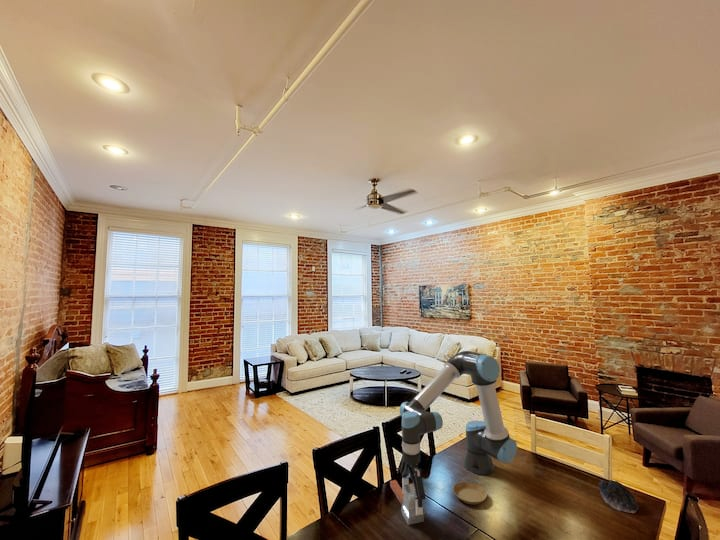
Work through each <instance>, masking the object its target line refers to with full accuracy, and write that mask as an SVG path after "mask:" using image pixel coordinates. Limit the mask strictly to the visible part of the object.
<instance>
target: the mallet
mask: <svg viewBox="0 0 720 540" xmlns="http://www.w3.org/2000/svg"><path fill="white" fill-rule="evenodd" d="M389 485H390V488H391V490H392V492H393V493H394V495H395V496H396V498H397V500H398V502H399V504H400V505H401V507H400V508H401V515H402V516H403V518H404V520H405V522H406V524H407V525H408V526H409V525H414V524H415V525H416V524H418V523H422V522H425V516H424V515H425V514H424V513H423V514H420V515H416V514H415V515H410V516H409V515H408V514H407V512H406V510H405V509H404V507H403V490H402V487H401V486H400V484H399V482H398V481H397V479H394V480H390V481H389Z"/></svg>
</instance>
